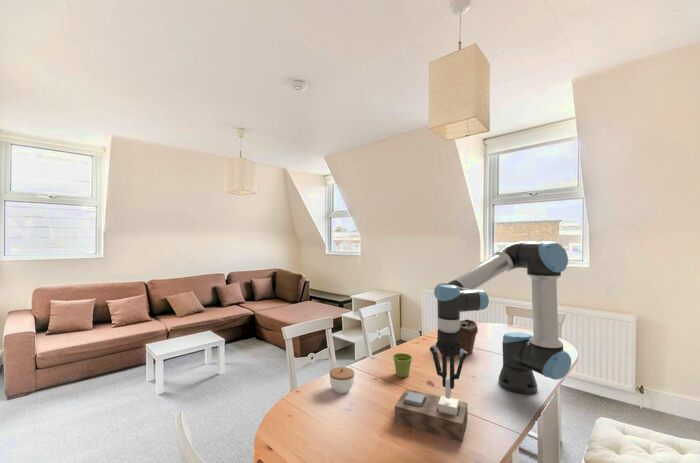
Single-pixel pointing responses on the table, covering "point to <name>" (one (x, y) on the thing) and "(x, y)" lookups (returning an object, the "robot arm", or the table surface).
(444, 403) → the cream key
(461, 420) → the key block
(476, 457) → the table surface
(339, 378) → the lidded jar
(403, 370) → the plant pot
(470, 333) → the brown tapered cylinder
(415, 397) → the slate key
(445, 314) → the robot arm
